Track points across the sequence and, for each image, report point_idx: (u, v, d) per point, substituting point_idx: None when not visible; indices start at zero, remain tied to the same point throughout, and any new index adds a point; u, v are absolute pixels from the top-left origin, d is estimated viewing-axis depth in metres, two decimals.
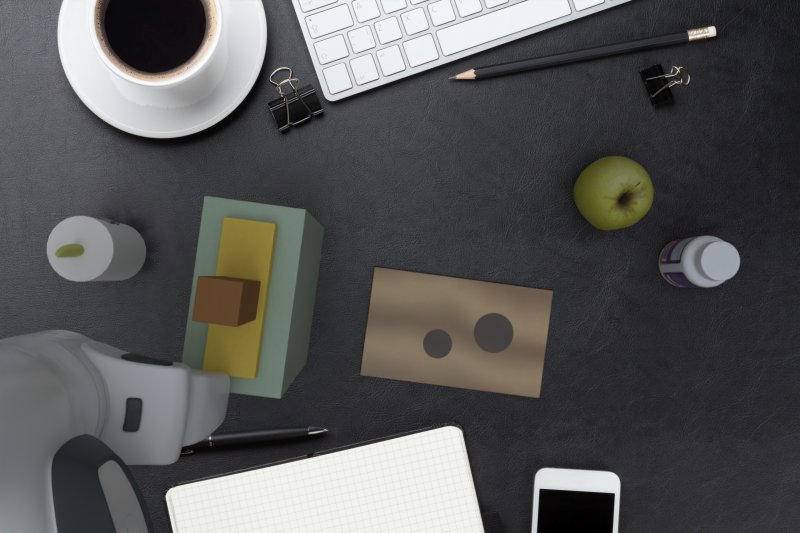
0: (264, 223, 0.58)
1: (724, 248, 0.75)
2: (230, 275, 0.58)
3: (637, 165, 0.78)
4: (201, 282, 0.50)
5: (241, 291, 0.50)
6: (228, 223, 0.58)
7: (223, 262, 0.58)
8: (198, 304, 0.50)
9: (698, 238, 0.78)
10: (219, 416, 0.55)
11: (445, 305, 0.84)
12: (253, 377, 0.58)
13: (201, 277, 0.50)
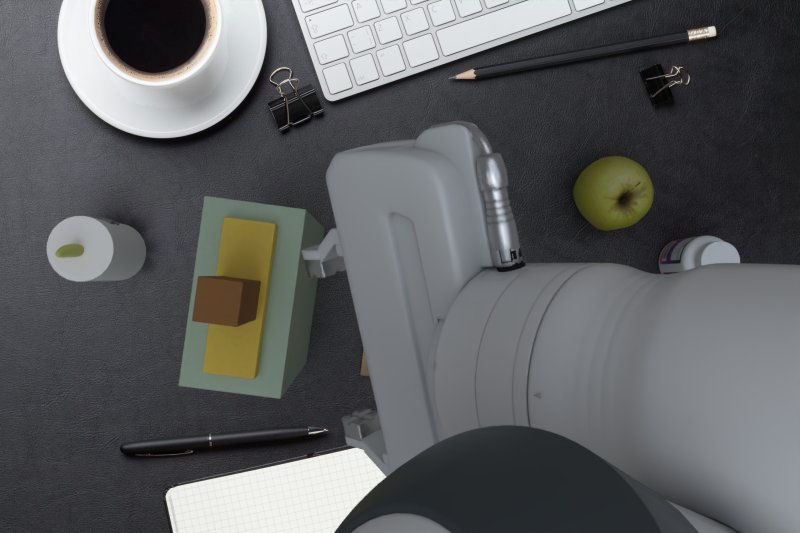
0: (264, 223, 0.58)
1: (724, 248, 0.75)
2: (230, 275, 0.58)
3: (637, 165, 0.78)
4: (201, 282, 0.50)
5: (241, 291, 0.50)
6: (228, 223, 0.58)
7: (223, 262, 0.58)
8: (198, 304, 0.50)
9: (698, 238, 0.78)
10: None
11: None
12: (253, 377, 0.58)
13: (201, 277, 0.50)
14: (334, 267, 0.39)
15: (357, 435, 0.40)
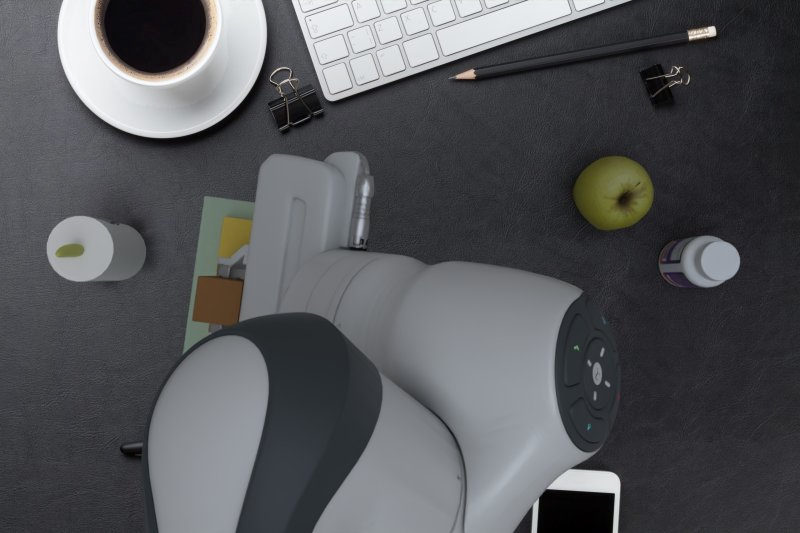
0: None
1: (724, 248, 0.75)
2: None
3: (637, 165, 0.78)
4: (201, 282, 0.50)
5: (241, 291, 0.50)
6: (228, 223, 0.58)
7: None
8: (198, 304, 0.50)
9: (698, 238, 0.78)
10: None
11: None
12: None
13: (201, 277, 0.50)
14: (237, 275, 0.53)
15: (218, 330, 0.52)
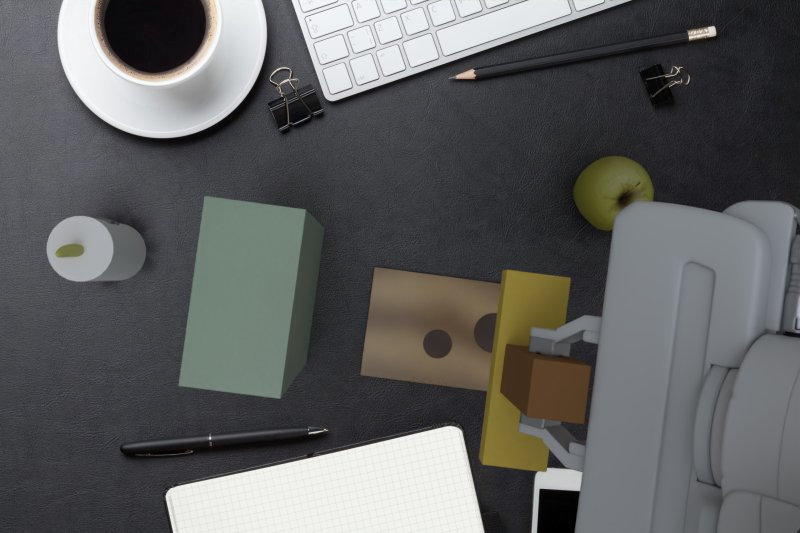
0: (557, 277, 0.46)
1: None
2: (516, 343, 0.46)
3: (637, 165, 0.78)
4: (538, 366, 0.38)
5: (589, 378, 0.38)
6: (513, 278, 0.46)
7: (507, 326, 0.46)
8: (535, 395, 0.38)
9: None
10: None
11: (445, 305, 0.84)
12: (545, 470, 0.46)
13: (537, 360, 0.38)
14: (560, 351, 0.41)
15: (539, 423, 0.41)
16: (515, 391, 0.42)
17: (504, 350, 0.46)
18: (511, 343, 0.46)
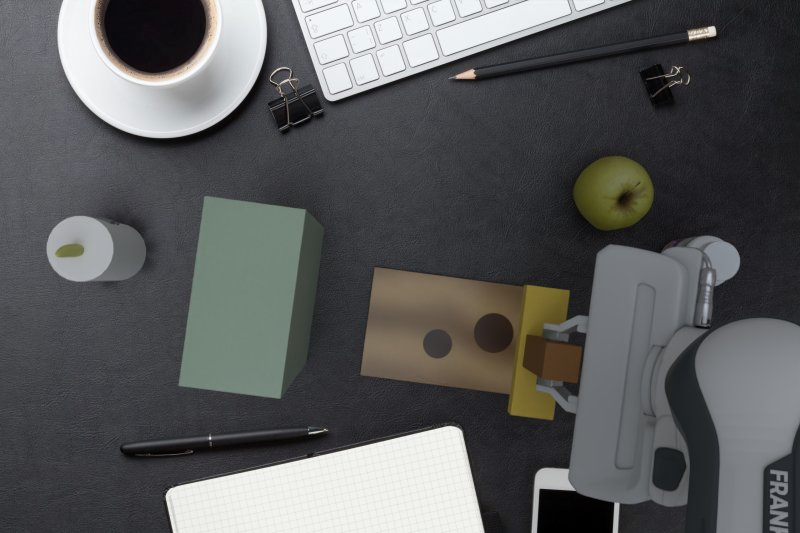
0: (561, 290, 0.70)
1: (724, 248, 0.75)
2: (533, 333, 0.69)
3: (637, 165, 0.78)
4: (549, 347, 0.61)
5: (580, 354, 0.62)
6: (531, 290, 0.69)
7: (527, 323, 0.69)
8: (547, 365, 0.61)
9: (698, 238, 0.78)
10: None
11: (445, 305, 0.84)
12: (552, 418, 0.69)
13: (548, 343, 0.61)
14: (562, 338, 0.64)
15: (549, 384, 0.64)
16: (534, 364, 0.65)
17: (525, 338, 0.69)
18: (530, 334, 0.69)
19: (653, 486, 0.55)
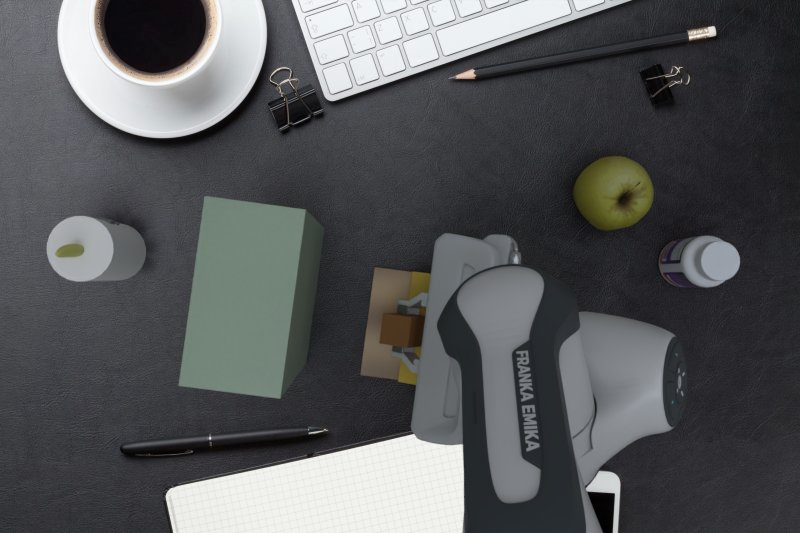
0: None
1: (724, 248, 0.75)
2: None
3: (637, 165, 0.78)
4: (385, 317, 0.74)
5: (410, 323, 0.73)
6: (415, 276, 0.82)
7: None
8: (383, 332, 0.74)
9: (698, 238, 0.78)
10: None
11: None
12: None
13: (385, 314, 0.74)
14: (412, 312, 0.77)
15: (400, 350, 0.77)
16: None
17: None
18: None
19: None
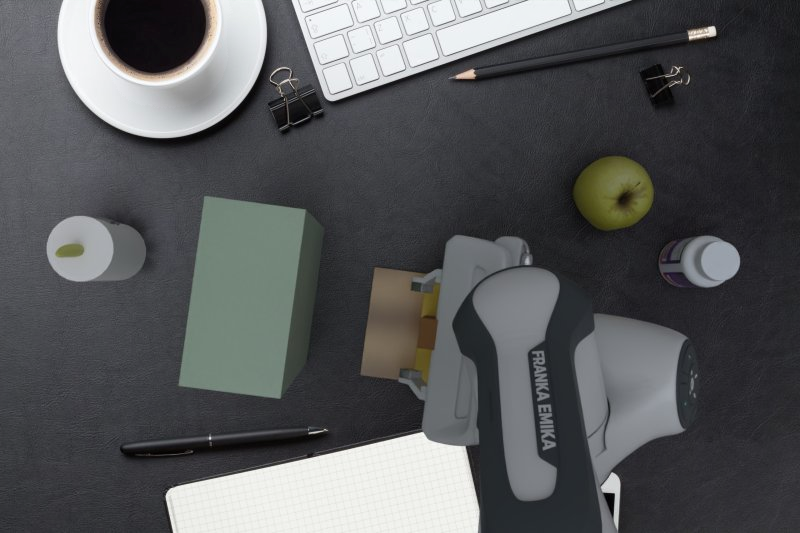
0: None
1: (724, 248, 0.75)
2: (431, 314, 0.82)
3: (637, 165, 0.78)
4: (423, 321, 0.74)
5: None
6: None
7: (427, 305, 0.82)
8: (421, 336, 0.74)
9: (698, 238, 0.78)
10: None
11: None
12: None
13: (423, 318, 0.74)
14: (426, 289, 0.77)
15: (408, 376, 0.77)
16: None
17: None
18: (429, 314, 0.82)
19: (477, 429, 0.68)
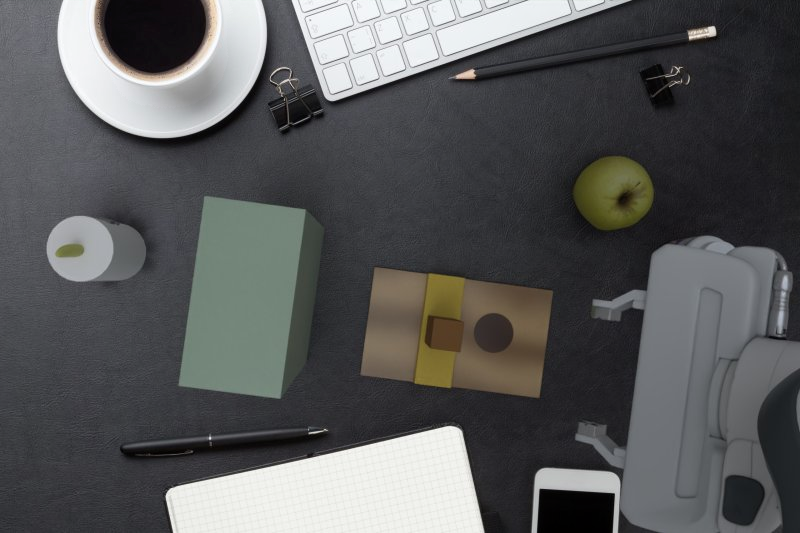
0: (457, 278, 0.82)
1: (724, 248, 0.75)
2: (433, 314, 0.82)
3: (637, 165, 0.78)
4: (436, 322, 0.74)
5: (463, 328, 0.74)
6: (432, 278, 0.82)
7: (429, 305, 0.82)
8: (434, 337, 0.74)
9: (698, 238, 0.78)
10: None
11: None
12: (450, 386, 0.82)
13: (436, 319, 0.74)
14: (614, 316, 0.58)
15: (591, 434, 0.57)
16: (428, 338, 0.77)
17: (427, 318, 0.82)
18: (431, 314, 0.82)
19: (723, 519, 0.48)
